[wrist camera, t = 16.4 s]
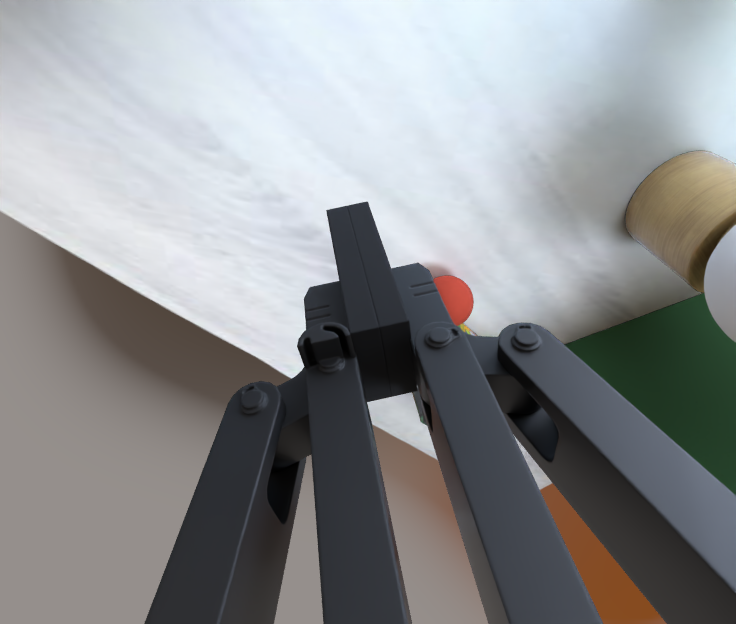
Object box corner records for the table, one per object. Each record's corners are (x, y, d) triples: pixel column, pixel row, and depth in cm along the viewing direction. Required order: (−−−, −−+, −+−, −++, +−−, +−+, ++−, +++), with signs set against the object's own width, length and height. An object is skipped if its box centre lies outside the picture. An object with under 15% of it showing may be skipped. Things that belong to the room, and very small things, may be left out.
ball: (420, 323, 54) (428, 340, 49) (413, 276, 53) (420, 287, 47) (468, 314, 54) (482, 330, 48) (463, 266, 53) (476, 277, 47)
